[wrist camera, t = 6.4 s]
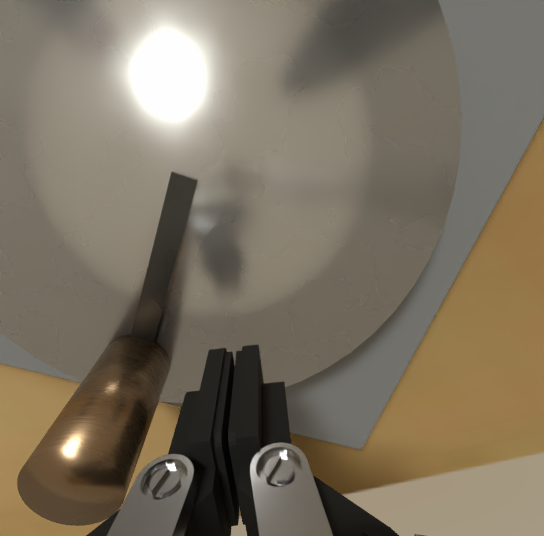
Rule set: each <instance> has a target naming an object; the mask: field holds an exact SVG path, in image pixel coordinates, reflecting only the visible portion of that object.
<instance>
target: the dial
mask: <svg viewBox="0 0 544 536" xmlns="http://www.w3.org/2000/svg"><path fill="white" fill-rule="evenodd" d="M461 124H462V115H461V101H460V88H459V77H458V72H457V67H456V62H455V57H454V52H453V47H452V42H451V37H450V34H449V31H448V28H447V25H446V22H445V19H444V16H443V13H442V10H441V7H440V4H439V1H438V0H0V332H1V333H2V334H3V335H4V336H6V337H7V338H8V339H9V340H10V341H12V342H13V343H15V344H16V345H18V346H19V347H21V348H22V349H24V350H25V351H27V352H28V353H30V354H31V355H33V356H34V357H36V358H37V359H39V360H40V361H42V362H44V363H46V364H48V365H50V366H52V367H54V368H55V369H57V370H59V371H61V372H63V373H65V374H67V375H69V376H71V377H74V378H76V379H79V380H81V381H82V383H81V384H80V386H79V387H78V389H77V390H76V391H75V393H74V394H73V396H72V397H71V399H70V400H69V401H68V403H67V404H66V406H65V407H64V409H63V410H62V412H61V413H60V414H59V416H58V417H57V419H56V420H55V422H54V423H53V424H52V426H51V427H50V429H49V430H48V432H47V433H46V434H45V436H44V437H43V439H42V440H41V442H40V443H39V445H38V446H37V447H36V449H35V450H34V452H33V453H32V455H31V456H30V457H29V459H28V460H27V462H26V463H25V465H24V466H23V467H22V469H21V471H20V473H19V476H18V481H17V485H18V491H19V494H20V496H21V498H22V500H23V501H24V502H25V504H26V505H27V506H28V507H29V508H30V509H31V510H32V511H34V512H35V513H37V514H38V515H40V516H41V517H43V518H45V519H48V520H50V521H53V522H56V523H60V524H65V525H76V526H79V525H89V524H94V523H98V522H101V521H103V520H105V519H107V518H109V517H110V516H112V515H113V514H114V513H116V512H117V510H118V509H119V508H120V507H121V505H122V503H123V501H124V498H125V495H126V492H127V489H128V487H129V484H130V481H131V478H132V475H133V473H134V470H135V467H136V464H137V461H138V458H139V456H140V453H141V450H142V447H143V444H144V441H145V439H146V436H147V433H148V430H149V427H150V424H151V422H152V419H153V416H154V413H155V410H156V408H157V405H158V402H173V403H183V401H184V397H185V394H186V393H187V392H189V391H199V390H200V386H201V381H202V377H203V373H204V369H205V364H206V360H207V356H208V351H209V350H210V349H219V348H226V350H227V352H232V353H233V357H234V364H235V359H236V351H241V350H242V346H247V345H257V344H258V345H259V351H260V358H261V366H262V374H263V381H264V383H273V382H283V381H284V382H285V387H287V386H290V385H293V384H295V383H298V382H301V381H303V380H304V379H306V378H308V377H310V376H312V375H314V374H316V373H318V372H320V371H322V370H324V369H326V368H328V367H329V366H331V365H332V364H334V363H335V362H337V361H338V360H340V359H342V358H343V357H345V356H346V355H348V354H349V353H351V352H352V351H353V350H354V349H356V348H357V347H358V346H359V345H360V344H362V343H363V342H364V341H365V340H366V339H368V338H369V337H370V336H371V335H372V334H374V333H375V332H376V330H377V329H378V328H379V327H380V326H381V325H382V324H383V323H384V322H385V321H386V320H387V319H388V318H389V317H390V316H391V315H392V314H393V313H394V312H395V310H396V309H397V308H398V306H399V305H400V304H401V302H402V301H403V300H404V298H405V297H406V296H407V294H408V293H409V292H410V290H411V289H412V288H413V286H414V285H415V283H416V281H417V280H418V278H419V276H420V275H421V273H422V271H423V269H424V268H425V266H426V264H427V263H428V261H429V259H430V257H431V255H432V253H433V250H434V248H435V246H436V243H437V241H438V239H439V236H440V234H441V232H442V230H443V227H444V224H445V221H446V217H447V214H448V211H449V207H450V204H451V201H452V197H453V194H454V188H455V182H456V177H457V171H458V165H459V159H460V144H461Z"/></svg>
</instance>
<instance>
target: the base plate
mask: <svg viewBox="0 0 544 536" xmlns="http://www.w3.org/2000/svg"><path fill="white" fill-rule="evenodd" d="M438 1H439V4H440V7H441V10H442V13H443V16H444V19H445V22H446V25H447V28H448V31H449V34H450V37H451V42H452V47H453V52H454V57H455V62H456V67H457V72H458V77H459V88H460V101H461V115H462V124H461V144H460V159H459V165H458V171H457V177H456V182H455V188H454V194H453V197H452V201H451V204H450V207H449V211H448V214H447V217H446V221H445V224H444V227H443V230H442V232H441V234H440V236H439V239H438V241H437V243H436V246H435V248H434V250H433V253H432V255H431V257H430V259H429V261H428V263H427V264H426V266H425V268H424V269H423V271H422V273H421V275H420V276H419V278H418V280H417V281H416V283H415V285H414V286H413V288H412V289H411V290H410V292H409V293H408V294H407V296H406V297H405V298H404V300H403V301H402V302H401V304H400V305H399V306H398V308H397V309H396V310H395V312H394V313H393V314H392V315H391V316H390V317H389V318H388V319H387V320H386V321H385V322H384V323H383V324H382V325H381V326H380V327H379V328H378V329H377V330H376V332H375V333H374V334H372V335H371V336H370V337H369V338H368V339H366V340H365V341H364V342H363V343H362V344H360V345H359V346H358V347H357V348H356V349H354V350H353V351H352V352H351V353H349V354H348V355H346V356H345V357H343V358H342V359H340V360H338V361H337V362H335V363H334V364H332V365H331V366H329V367H328V368H326V369H324V370H322V371H320V372H318V373H316V374H314V375H312V376H310V377H308V378H306V379H304V380H303V381H301V382H298V383H295V384H293V385H290V386H287V387H285V392H286V401H287V410H288V419H289V429H290V433H293V434H297V435H301V436H305V437H309V438H314V439H318V440H322V441H326V442H330V443H334V444H339V445H343V446H347V447H351V448H355V449H359V450H361V449H362V447H363V446H364V444H365V442H366V440H367V438H368V437H369V435H370V433H371V431H372V429H373V427H374V426H375V424H376V422H377V420H378V418H379V416H380V415H381V413H382V411H383V409H384V407H385V406H386V404H387V402H388V400H389V398H390V396H391V395H392V393H393V391H394V389H395V387H396V386H397V384H398V382H399V380H400V378H401V376H402V375H403V373H404V371H405V369H406V367H407V365H408V364H409V362H410V360H411V358H412V356H413V355H414V353H415V351H416V349H417V347H418V345H419V344H420V342H421V340H422V338H423V336H424V334H425V333H426V331H427V329H428V327H429V325H430V324H431V322H432V320H433V318H434V316H435V314H436V313H437V311H438V309H439V307H440V305H441V303H442V302H443V300H444V298H445V296H446V294H447V293H448V291H449V289H450V287H451V285H452V283H453V282H454V280H455V278H456V276H457V274H458V273H459V271H460V269H461V267H462V265H463V263H464V262H465V260H466V258H467V256H468V254H469V252H470V251H471V249H472V247H473V245H474V243H475V242H476V240H477V238H478V236H479V234H480V232H481V231H482V229H483V227H484V225H485V223H486V221H487V220H488V218H489V216H490V214H491V212H492V211H493V209H494V207H495V205H496V203H497V201H498V200H499V198H500V196H501V194H502V192H503V191H504V189H505V187H506V185H507V183H508V181H509V180H510V178H511V176H512V174H513V172H514V170H515V169H516V167H517V165H518V163H519V161H520V160H521V158H522V156H523V154H524V152H525V150H526V149H527V147H528V145H529V143H530V141H531V139H532V138H533V136H534V134H535V132H536V130H537V129H538V127H539V125H540V123H541V121H542V119H543V118H544V0H438ZM0 363H1V364H5V365H9V366H13V367H18V368H22V369H26V370H30V371H34V372H38V373H43V374H47V375H51V376H55V377H59V378H63V379H68V380H72V381H76V382H80V383H82V381H81V380H79V379H76V378H74V377H71V376H69V375H67V374H65V373H63V372H61V371H59V370H57V369H55V368H54V367H52V366H50V365H48V364H46V363H44V362H42V361H40V360H39V359H37V358H36V357H34V356H33V355H31V354H30V353H28V352H27V351H25V350H24V349H22V348H21V347H19V346H18V345H16V344H15V343H13V342H12V341H10V340H9V339H8V338H7V337H6V336H4V335H3V334H2V333H1V332H0ZM164 403H168V404H172V405H176V406H180V407H182V404H183V403H173V402H164Z"/></svg>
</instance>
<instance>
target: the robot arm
mask: <svg viewBox="0 0 544 536" xmlns="http://www.w3.org/2000/svg"><path fill="white" fill-rule="evenodd" d="M239 505H240V511H241V516H242V522H243V524H245V525H246V531H247V536H399V535H397V533H395V532H394V531H393V530H392V529H391V528H390V527H388V526H387V525H385V524H384V523H382V522H381V521H379V520H378V519H376V518H375V517H374V516H372V515H370V514H369V513H368V512H366V511H365V510H363V509H362V508H360V507H359V506H357V505H356V504H354V503H353V502H351V501H350V500H348V499H347V498H346V497H344V496H343V495H341V494H340V493H338V492H337V491H335V490H334V489H332V488H331V487H329V486H328V485H326V484H325V483H323V482H322V481H320V480H319V479H318V478H316V477H315V476H313V475H312V472H311V469H310V466H309V463H308V460H307V458H306V456H305V454H304V453H303V452H302V451H301V450H300V449H299V448H298V447H296V446H294V445H292V444H291V438H290V429H289V419H288V410H287V401H286V392H285V382H284V381H283V382H273V383H264V381H263V374H262V366H261V358H260V351H259V345H258V344H257V345H247V346H242V350H241V351H236V359H235V364H234V357H233V353H232V352H227V350H226V348H219V349H210V350H209V351H208V356H207V360H206V364H205V369H204V373H203V377H202V381H201V386H200V390H199V391H189V392H187V393H186V394H185V397H184V401H183V404H182V408H181V411H180V415H179V418H178V422H177V425H176V429H175V432H174V436H173V439H172V443H171V446H170V450H169V453H168V455H164V456H162V457H159V458H157V459H155V460H153V461H152V462H150V463H149V464H148V465H147V466H145V467H144V468H143V469H142V471H141V472H140V473H139V475H138V476H137V478H136V480H135V482H134V484H133V486H132V488H131V490H130V491H129V493H128V495H127V497H126V499H125V501H124V503H123V505H122V507H121V509H120V510H118V511H117V512H116V513H115V514H113V515H112V516H111V517H109V518H108V519H107V520H106V521H104V522H103V523H102V524H101V525H99V526H98V527H97V528H96V529H94V530H93V531H92V532H91V533H89V534H88V535H87V536H230V535H231V526H236V525H238V519H239ZM415 536H424V535H416V534H415Z"/></svg>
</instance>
